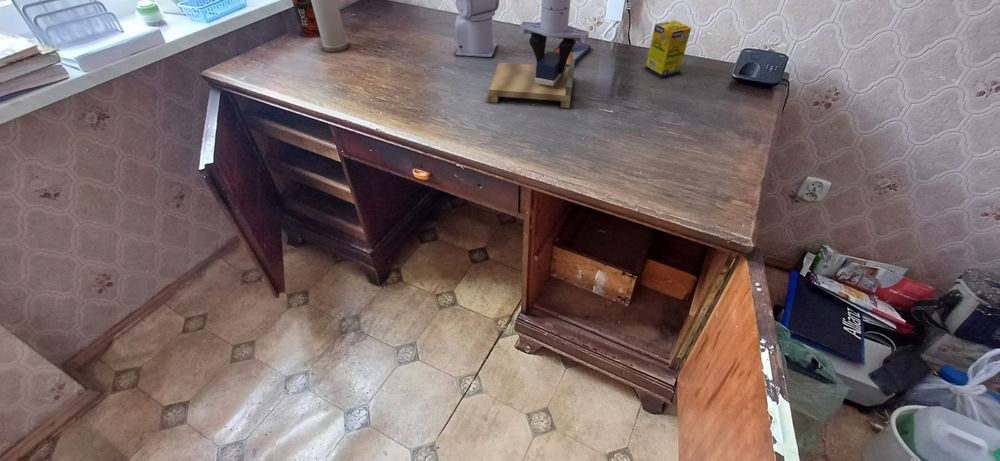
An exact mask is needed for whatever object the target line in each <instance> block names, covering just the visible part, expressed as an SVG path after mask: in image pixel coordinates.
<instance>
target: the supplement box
mask: <svg viewBox="0 0 1000 461" xmlns="http://www.w3.org/2000/svg"><path fill="white" fill-rule="evenodd" d="M691 30H692V27H690V26H688V25H687V24H684V23H682V22H680V21H678V20H676V19H673V20H669V21H665V22H660V23H659V22H658V23H655V24H654V28H653V33H652V37H651V41H650V46H649V50H648V55H647V60H646V64H645V69H646V70H647V71H649V72H651V73H652V74H654V75H656V76H657V77H659V78H664V77H667V76H671V75H674V74H679V73H680V70H681V67H682V63H683V60H684V56H685V52H686V49H687V46H688V45H687V44H688V41H689V38H690V34H691Z"/></svg>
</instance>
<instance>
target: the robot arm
mask: <svg viewBox="0 0 1000 461" xmlns="http://www.w3.org/2000/svg"><path fill="white" fill-rule="evenodd" d="M455 6H456V10H457V13H458V14H457V16H456V18H455V23H454V24H455V25H454V28H455V29H454V31H455V32H454V33H455V46H456V53H455V54H456V56H466V57H478V58H479V57H480V58H492V57H493V56H494V52H495V50H496V49H497V43H494V33H493V32H494V31H493V26H494V24H493V20H494V19H493V17H494V16H495V15H496V11H497V10H498V9H499V6H500V0H455ZM570 10H571V0H541V11H540V12H541V14H540V22H538V21H537V22H536V21H523V22H522V23H521V24H520V30H519V31H520V32H519V34H521V35H526V34H528V35H530V38H529V39H528V42H529V45H530V46H531V49H532V51H533V54H534V56H535V60H536V63H537V62H538V61H539V60H540V59H541V58H542V57H543V56H544V54H545V53H546V46H547V40H548V38H554V39H560V40H561V42H560V43H558V47H559V55H560V57H559V68H558V73H559V74H562V72H563V71H564V68H565V64H566V61H567V58H568V56H569V54H570V52H571V50H572V48H573V46H574V44H575V43H576V42H577V43H582V44H587V42H588V41H589V35H590V34H589V33H590V31H589V30H584V29H581V28H577V27H573V26H570V25H569V21H570V20H569V18H570Z"/></svg>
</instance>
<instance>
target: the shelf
mask: <svg viewBox="0 0 1000 461" xmlns="http://www.w3.org/2000/svg"><path fill="white" fill-rule="evenodd" d="M575 64H576V63H575V59H570V62H569V67H566V70H565V71H564V73H563V74H562V75H561V77H560V78H559V79H558V80H557V82H556V83H555V84H554V86H550V85H545V84H540V83H535V77H536V64H527V63H512V62H511V63H510V62H498V64H497V67H496V69H495V72H494V74H493V76H492V80H491V82H490V84H489V87H488V102H489V103H498V102H499V100H500V97H501V98H502V97H503V98H515V99H529V100H541V101H542V100H543V101H544V100H545V101H554V102H560V108H564V109H570V108H571V98H572V91H573V90H572V89H573V83H574V72H575Z"/></svg>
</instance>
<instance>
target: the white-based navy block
mask: <svg viewBox="0 0 1000 461" xmlns="http://www.w3.org/2000/svg"><path fill="white" fill-rule="evenodd" d="M559 57H560V55H559V53H557V52H553V51H550V50H547V51H545V54H544V56H543V57H542V58H541V59H540V60H539V61H538V62H537V61H536V64H535V65H536V77H535V83H540V84H545V85H550V86H554V84H555V83H556V82H557V80H558V79H559V78H560V77H561V75H562V74H563V73H564V71H565V70H566V66H567V65H566V64H565V68H564V71H563V72H562V74H559V73H558V68H559Z"/></svg>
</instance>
